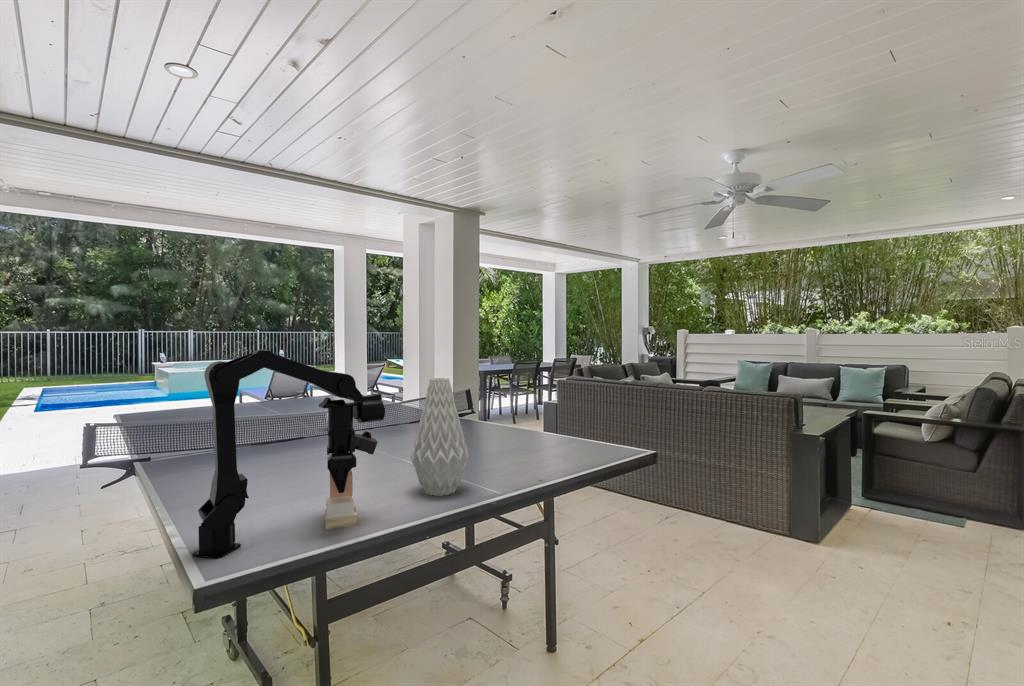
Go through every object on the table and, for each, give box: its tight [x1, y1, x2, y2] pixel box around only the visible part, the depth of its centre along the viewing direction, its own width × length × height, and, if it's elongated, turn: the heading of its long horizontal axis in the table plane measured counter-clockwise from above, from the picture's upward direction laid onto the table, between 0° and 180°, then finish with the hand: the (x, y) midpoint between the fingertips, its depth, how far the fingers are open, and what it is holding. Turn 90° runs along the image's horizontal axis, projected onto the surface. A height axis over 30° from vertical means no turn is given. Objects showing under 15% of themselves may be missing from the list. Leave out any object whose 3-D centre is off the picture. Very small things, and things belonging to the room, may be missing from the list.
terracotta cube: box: [329, 469, 354, 498], centre depth 122 cm, size 5×5×5 cm
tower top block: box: [325, 496, 355, 518], centre depth 123 cm, size 6×6×3 cm
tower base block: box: [325, 505, 358, 530], centre depth 123 cm, size 7×7×3 cm
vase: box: [410, 377, 470, 497], centre depth 147 cm, size 17×17×33 cm
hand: (341, 489), depth 122 cm, fingers closed on terracotta cube, 5 cm apart
